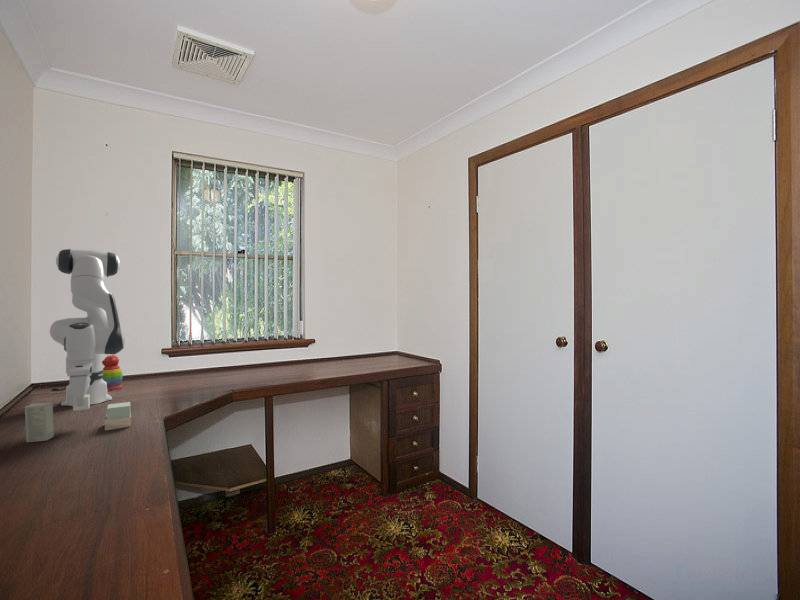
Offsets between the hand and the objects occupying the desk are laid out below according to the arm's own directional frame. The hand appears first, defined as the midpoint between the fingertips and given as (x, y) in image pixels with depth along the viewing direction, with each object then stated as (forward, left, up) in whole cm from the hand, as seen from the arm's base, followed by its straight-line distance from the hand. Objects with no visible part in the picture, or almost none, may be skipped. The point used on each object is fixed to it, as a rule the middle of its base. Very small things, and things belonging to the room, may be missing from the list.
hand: (81, 404), depth 154 cm
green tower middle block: (+5, +12, -5) cm, 14 cm away
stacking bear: (-72, +6, -9) cm, 73 cm away
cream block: (0, 0, -2) cm, 2 cm away
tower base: (+5, +11, -9) cm, 15 cm away
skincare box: (+9, -11, -9) cm, 16 cm away
